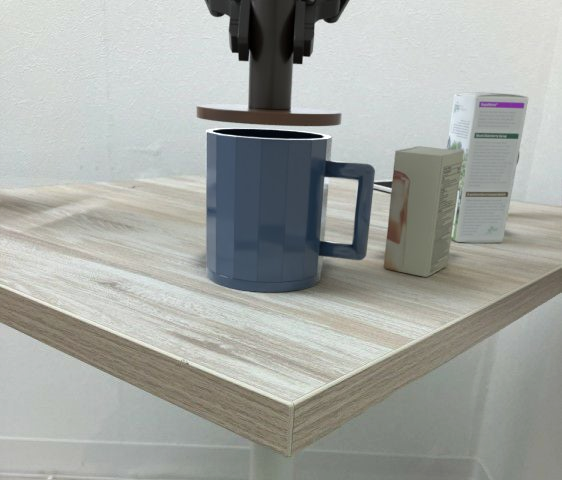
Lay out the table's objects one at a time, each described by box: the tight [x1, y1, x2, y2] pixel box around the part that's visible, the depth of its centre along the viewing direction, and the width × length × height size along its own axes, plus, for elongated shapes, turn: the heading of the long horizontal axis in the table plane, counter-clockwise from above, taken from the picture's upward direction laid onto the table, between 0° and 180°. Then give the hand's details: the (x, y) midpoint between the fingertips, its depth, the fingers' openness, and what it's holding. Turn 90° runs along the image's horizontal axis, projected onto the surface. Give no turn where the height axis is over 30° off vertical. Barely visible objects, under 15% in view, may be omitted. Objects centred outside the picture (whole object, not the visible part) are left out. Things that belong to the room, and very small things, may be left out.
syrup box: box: [446, 91, 529, 244], centre depth 68 cm, size 6×6×14 cm
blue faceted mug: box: [205, 127, 376, 293], centre depth 50 cm, size 13×9×11 cm
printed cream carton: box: [383, 145, 464, 278], centre depth 55 cm, size 5×4×10 cm
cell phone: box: [373, 178, 393, 194], centre depth 97 cm, size 8×16×1 cm, turn 31°
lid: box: [195, 0, 343, 127], centre depth 47 cm, size 11×11×8 cm
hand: (271, 52), depth 45 cm, fingers closed on lid, 3 cm apart
